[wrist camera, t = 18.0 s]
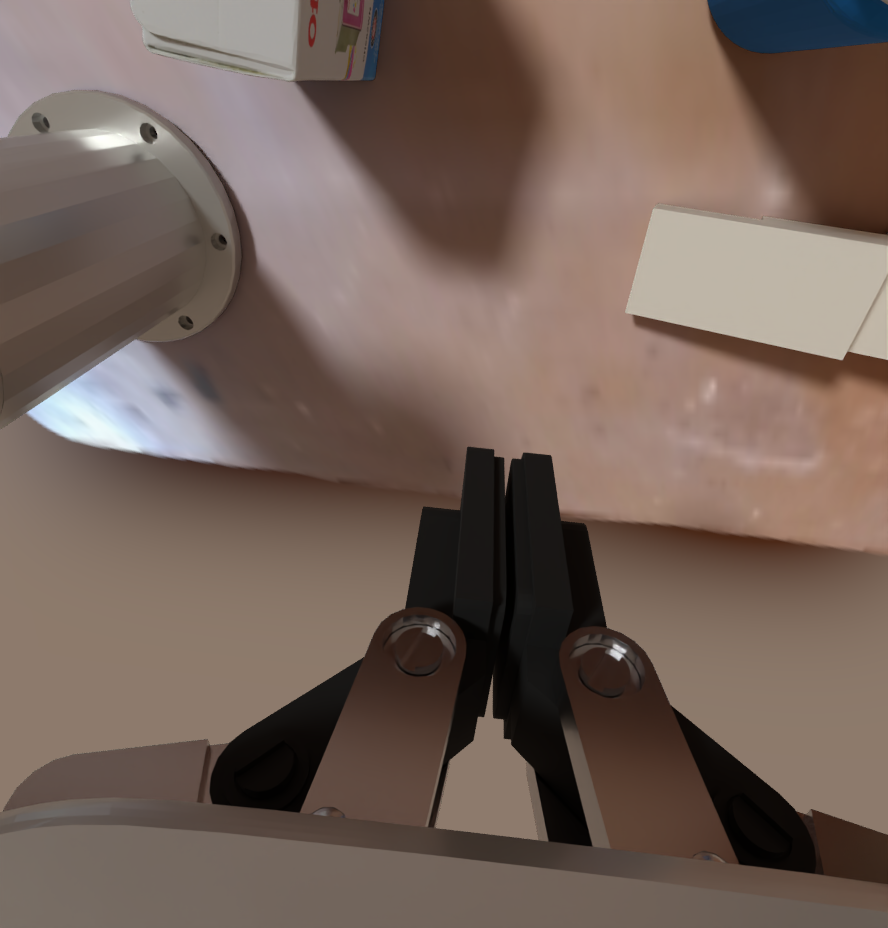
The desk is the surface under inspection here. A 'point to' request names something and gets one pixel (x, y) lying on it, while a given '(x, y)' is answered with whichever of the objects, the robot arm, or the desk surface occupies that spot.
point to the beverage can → (801, 23)
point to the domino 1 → (758, 279)
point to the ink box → (267, 36)
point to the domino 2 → (884, 323)
